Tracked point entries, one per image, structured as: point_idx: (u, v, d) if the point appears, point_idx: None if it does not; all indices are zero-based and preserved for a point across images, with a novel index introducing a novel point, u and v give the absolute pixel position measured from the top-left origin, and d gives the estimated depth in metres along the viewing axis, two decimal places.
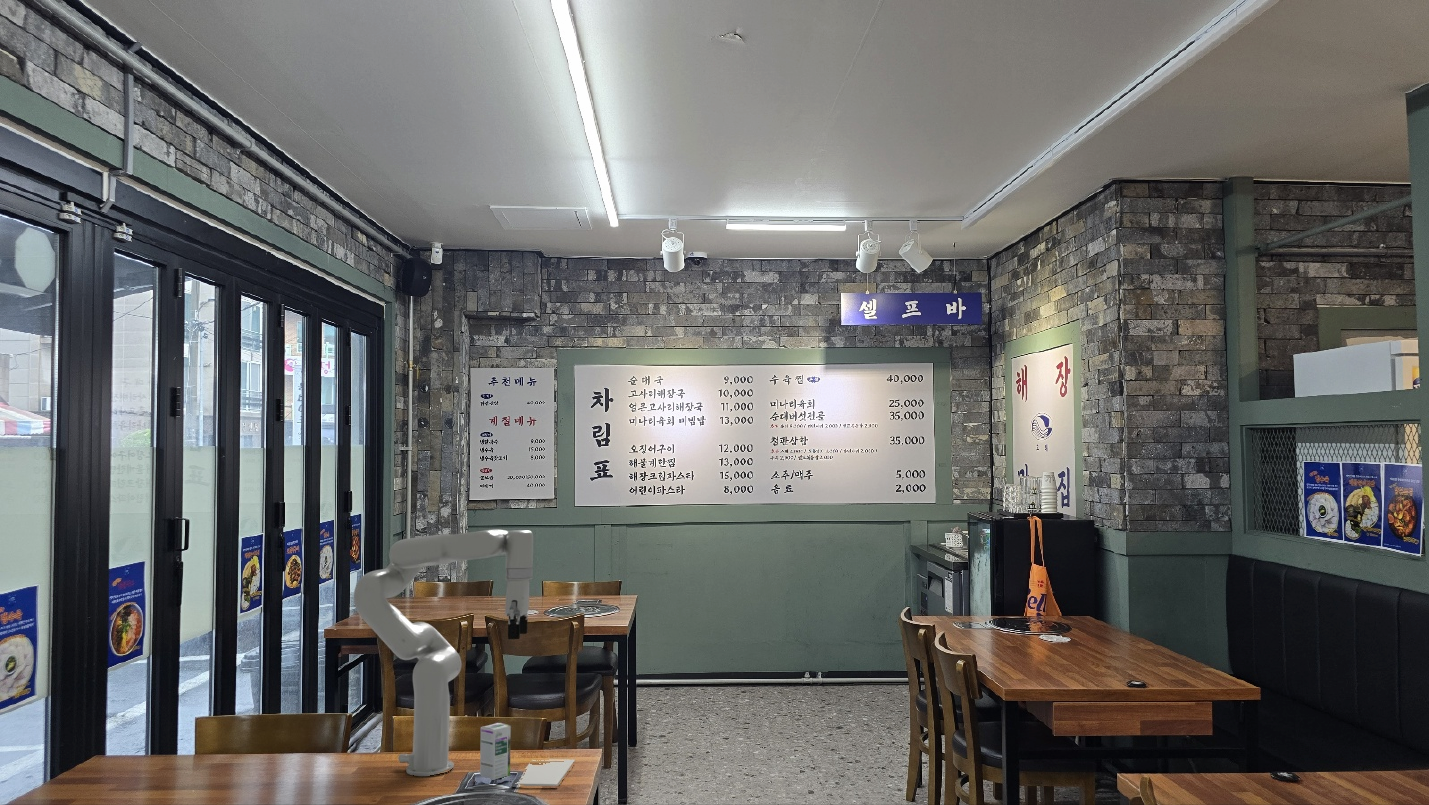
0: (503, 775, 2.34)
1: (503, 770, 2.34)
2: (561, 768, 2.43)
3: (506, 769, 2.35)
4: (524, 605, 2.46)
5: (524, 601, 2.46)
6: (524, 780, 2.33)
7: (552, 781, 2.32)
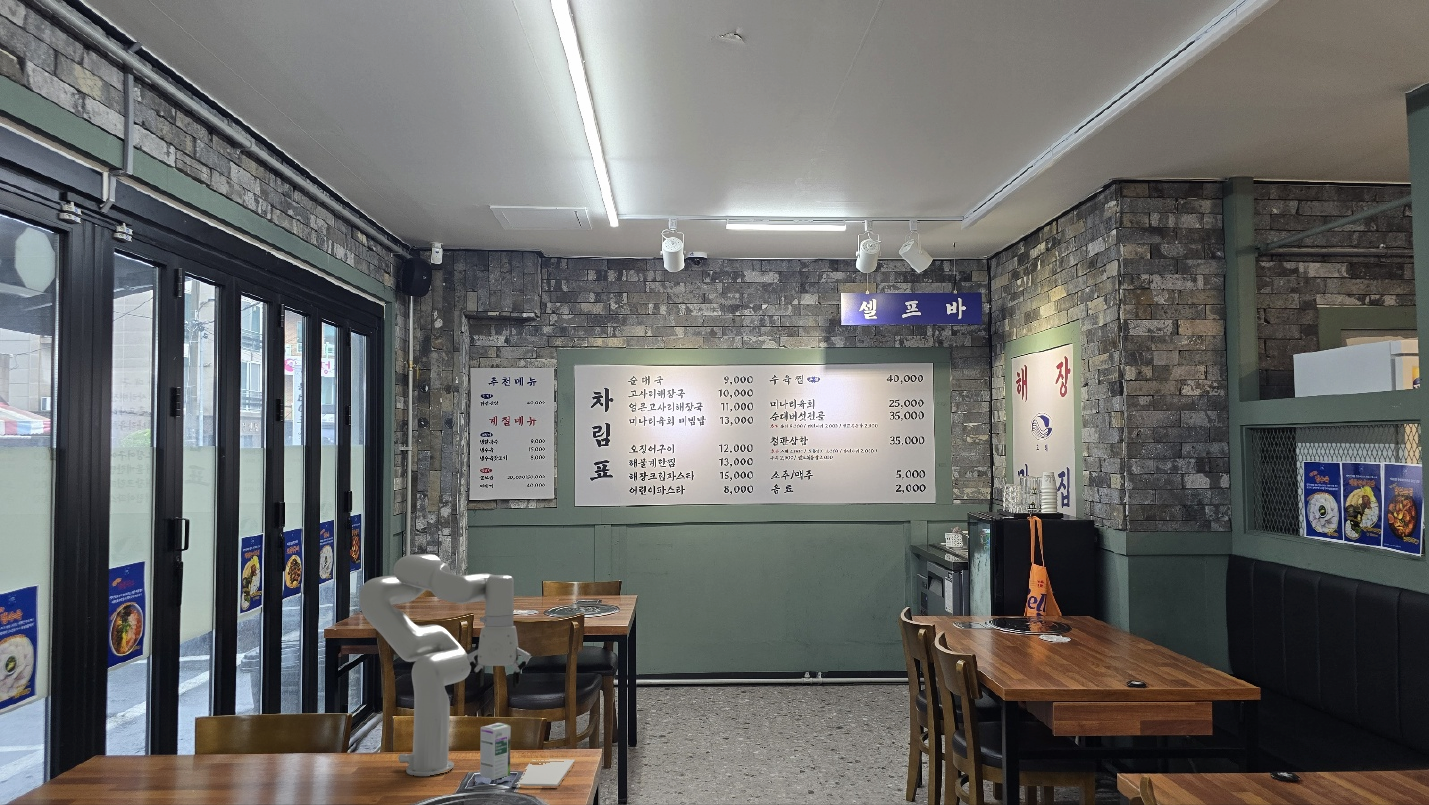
0: (503, 775, 2.34)
1: (503, 770, 2.34)
2: (561, 768, 2.43)
3: (506, 769, 2.35)
4: None
5: None
6: (524, 780, 2.33)
7: (552, 781, 2.32)
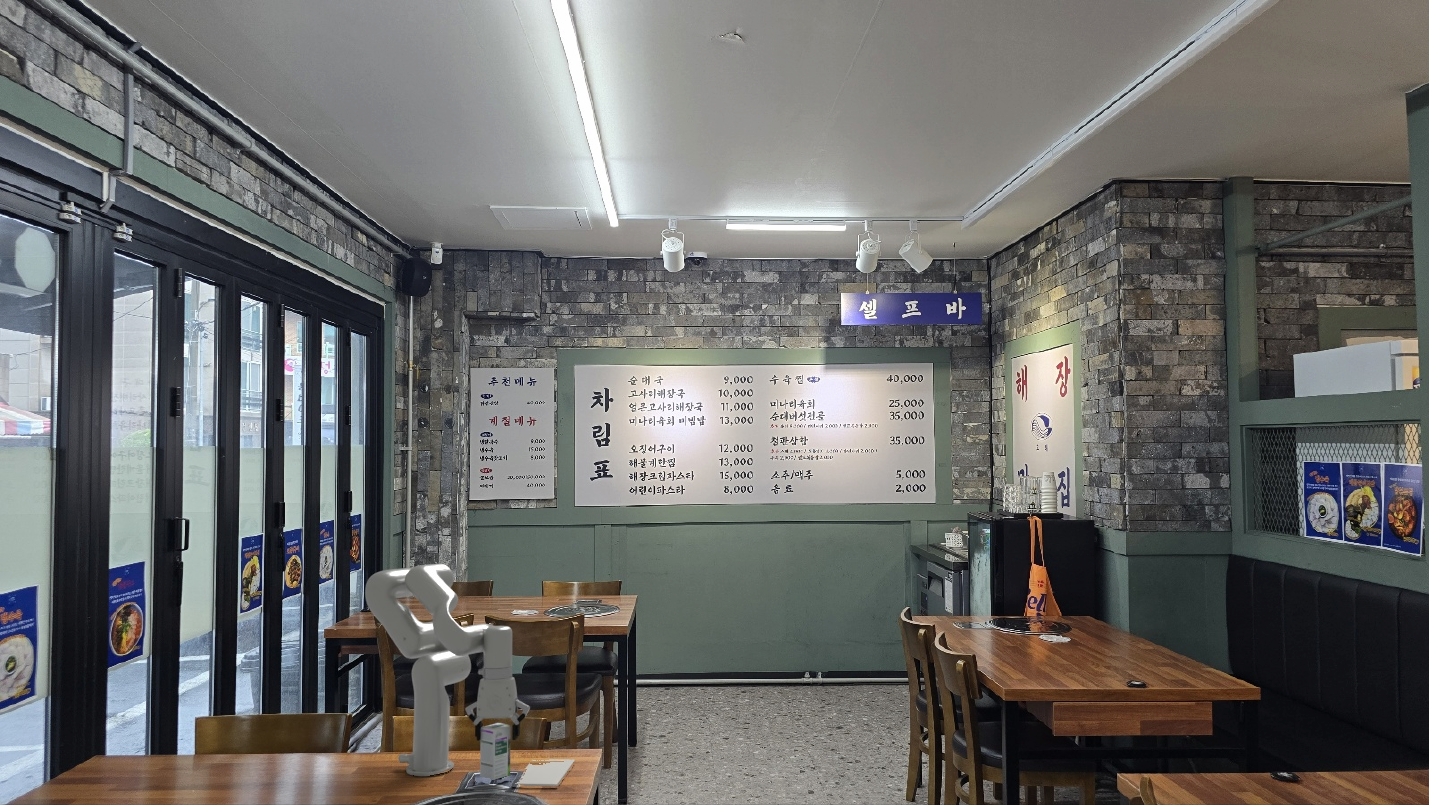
0: (503, 775, 2.34)
1: (503, 770, 2.34)
2: (561, 768, 2.43)
3: (506, 769, 2.35)
4: None
5: None
6: (524, 780, 2.33)
7: (552, 781, 2.32)
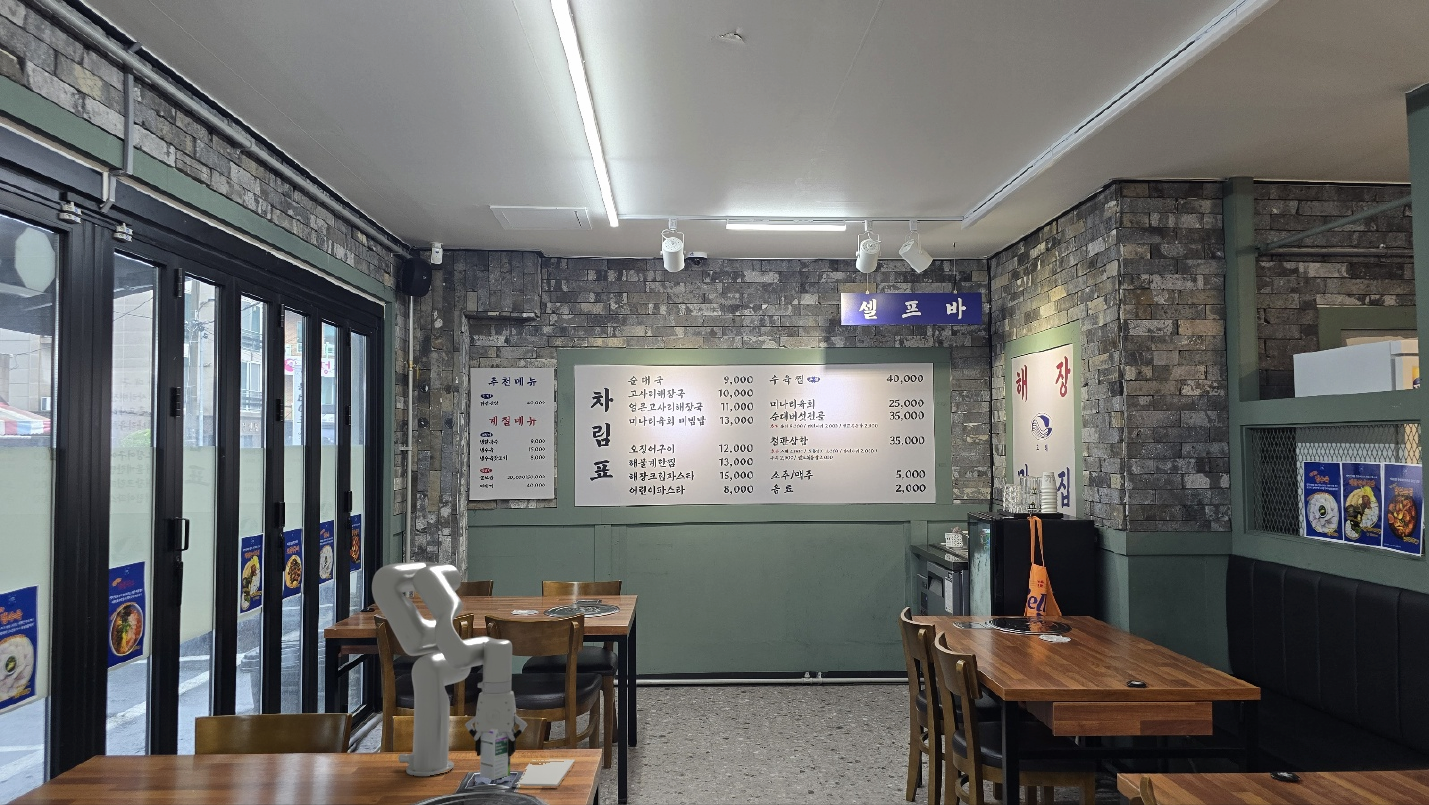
0: (503, 775, 2.34)
1: (503, 770, 2.34)
2: (561, 768, 2.43)
3: (506, 769, 2.35)
4: None
5: None
6: (524, 780, 2.33)
7: (552, 781, 2.32)
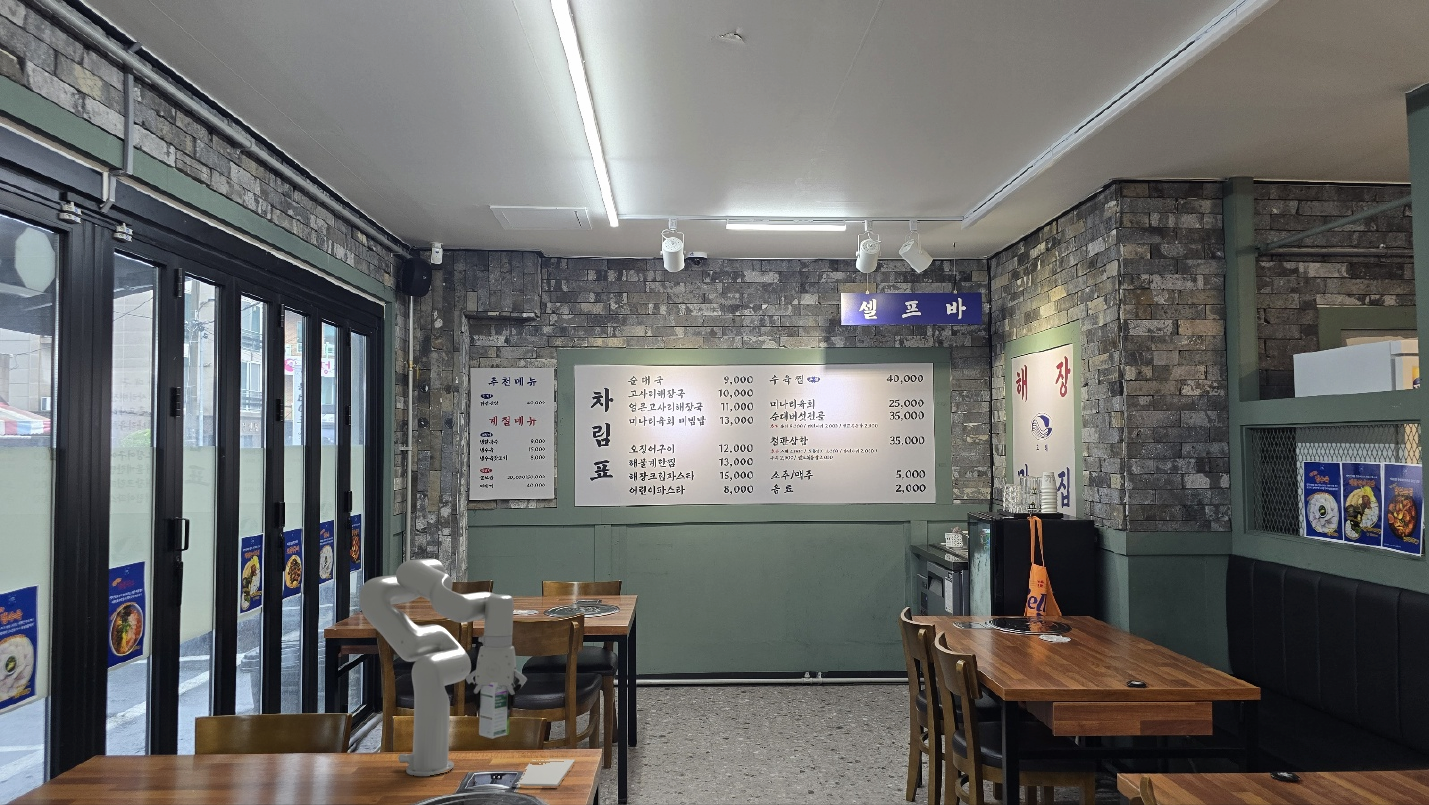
0: (502, 728, 2.36)
1: (502, 724, 2.36)
2: (561, 768, 2.43)
3: (505, 722, 2.37)
4: None
5: None
6: (524, 780, 2.33)
7: (552, 781, 2.32)
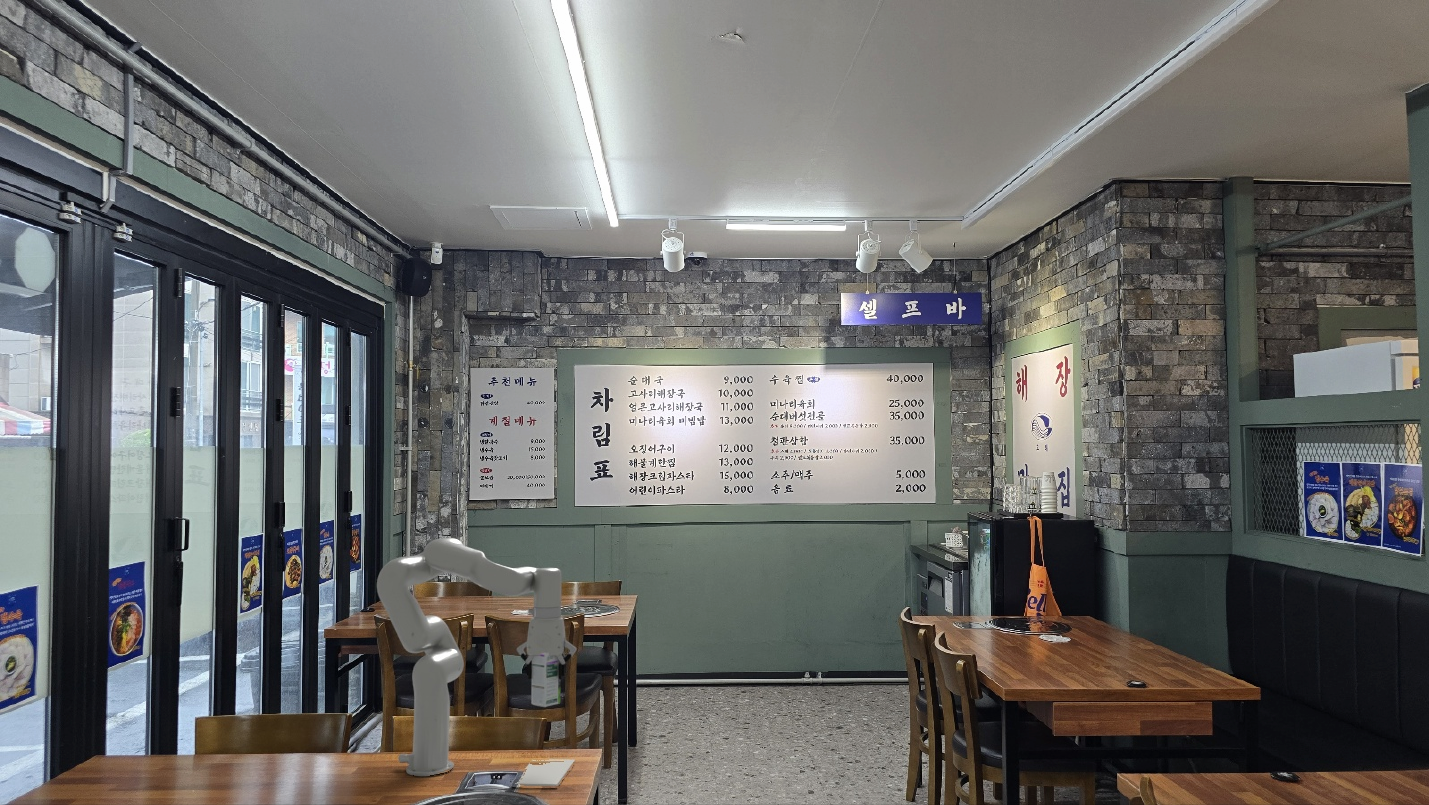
0: (554, 697, 2.41)
1: (553, 693, 2.41)
2: (561, 768, 2.43)
3: (557, 692, 2.42)
4: None
5: None
6: (524, 780, 2.33)
7: (552, 781, 2.32)
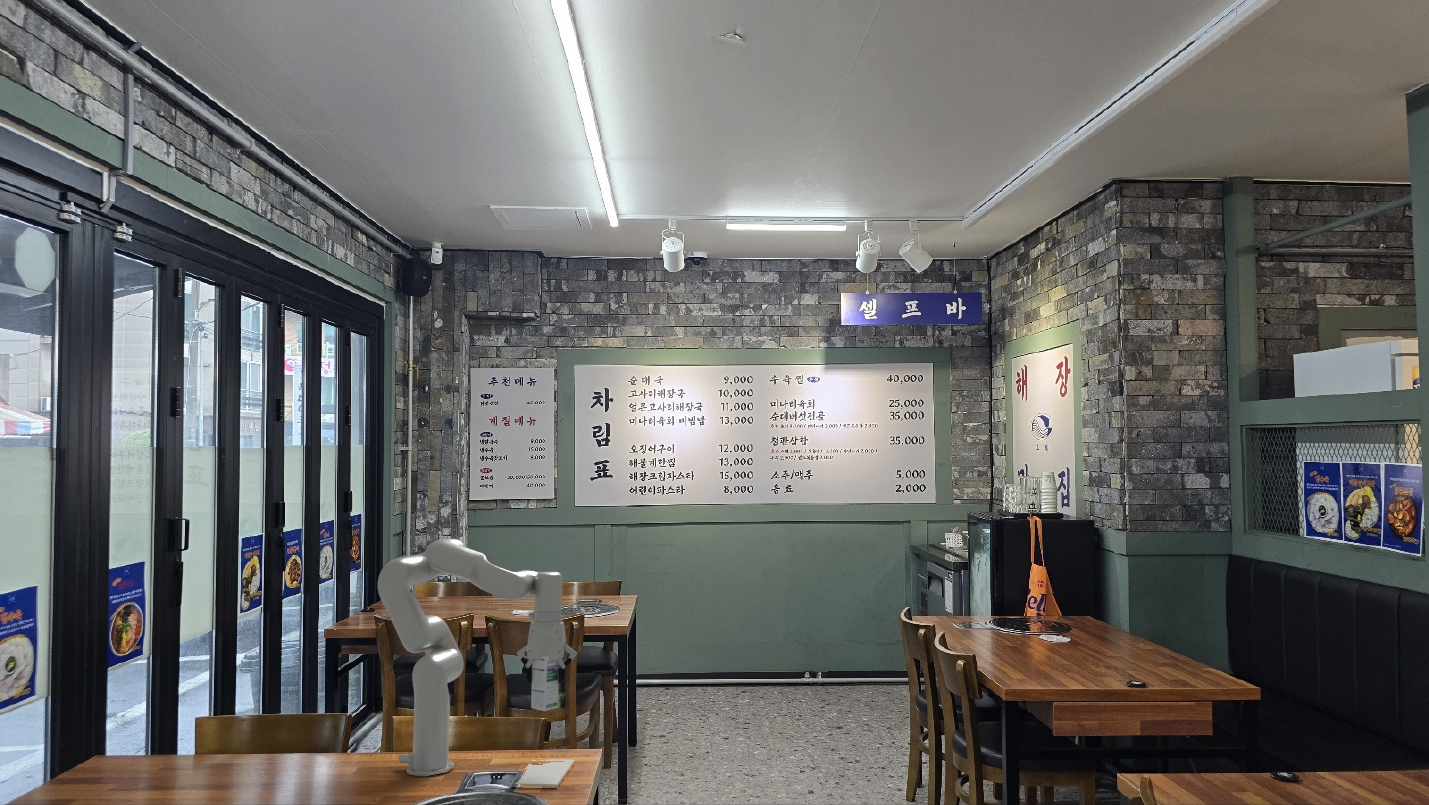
0: (554, 701, 2.41)
1: (553, 697, 2.41)
2: (561, 768, 2.43)
3: (557, 696, 2.42)
4: None
5: None
6: (524, 780, 2.33)
7: (552, 781, 2.32)
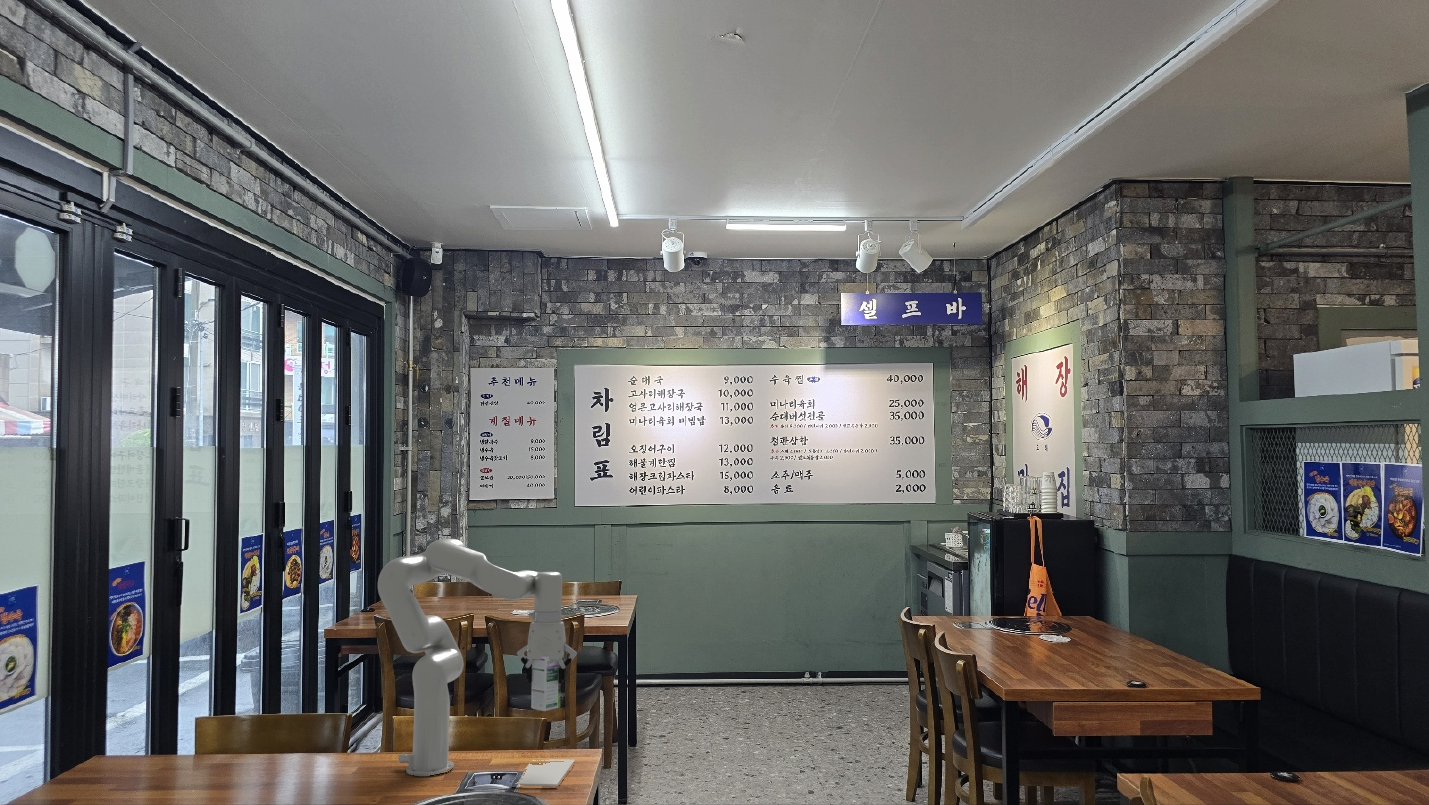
0: (554, 701, 2.41)
1: (553, 697, 2.41)
2: (561, 768, 2.43)
3: (557, 696, 2.42)
4: None
5: None
6: (524, 780, 2.33)
7: (552, 781, 2.32)
